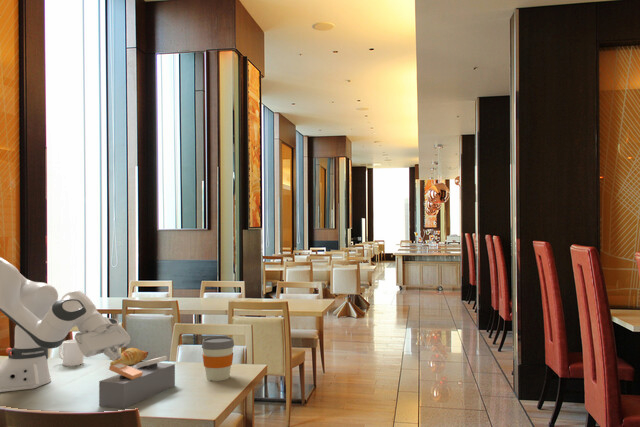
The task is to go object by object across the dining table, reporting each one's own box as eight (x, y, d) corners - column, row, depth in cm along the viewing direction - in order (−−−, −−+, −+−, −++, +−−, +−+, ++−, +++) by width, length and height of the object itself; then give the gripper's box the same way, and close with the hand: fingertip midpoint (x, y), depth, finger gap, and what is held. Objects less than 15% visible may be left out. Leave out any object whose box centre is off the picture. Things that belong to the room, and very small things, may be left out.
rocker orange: (108, 369, 181) (109, 365, 180) (119, 366, 185) (120, 362, 185) (132, 379, 177) (133, 375, 177) (141, 375, 182) (142, 371, 182)
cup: (73, 366, 230) (74, 343, 231) (51, 365, 234) (52, 342, 234) (87, 362, 238) (87, 339, 238) (66, 360, 242) (66, 338, 242)
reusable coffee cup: (201, 383, 202) (201, 343, 203) (202, 374, 214) (202, 337, 215) (234, 380, 205) (234, 341, 205) (233, 372, 217) (233, 335, 218)
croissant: (115, 377, 225) (122, 361, 224) (100, 364, 229) (106, 348, 228) (151, 365, 245) (157, 350, 243) (136, 353, 249) (142, 338, 247)
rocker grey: (137, 367, 193) (136, 363, 194) (145, 364, 198) (145, 360, 198) (159, 362, 190) (158, 358, 191) (167, 359, 195) (166, 355, 195)
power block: (99, 405, 176) (99, 377, 176) (152, 383, 202) (152, 359, 203) (123, 408, 172) (123, 380, 173) (174, 385, 199) (174, 361, 199)
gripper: (77, 327, 176) (100, 359, 172) (120, 318, 195) (142, 347, 191) (66, 340, 177) (89, 372, 173) (110, 330, 196) (131, 358, 192)
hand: (117, 359), depth 182 cm, fingers closed
